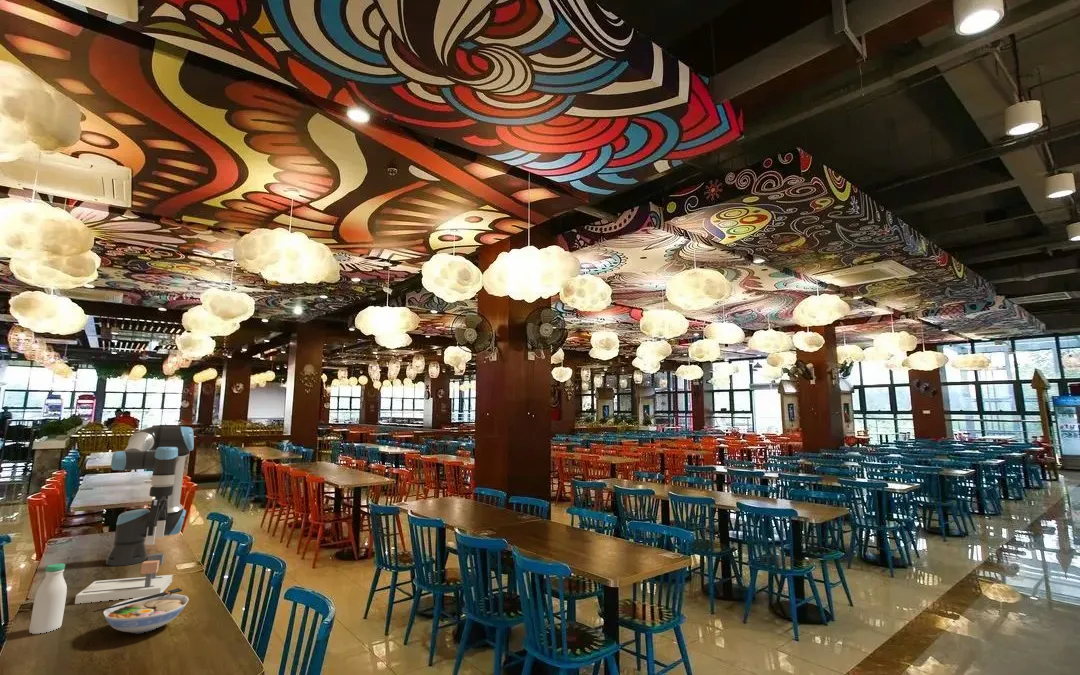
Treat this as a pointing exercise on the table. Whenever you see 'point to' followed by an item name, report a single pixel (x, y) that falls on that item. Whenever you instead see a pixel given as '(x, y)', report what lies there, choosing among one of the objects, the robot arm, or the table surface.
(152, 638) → the table surface
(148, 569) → the fader
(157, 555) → the fader
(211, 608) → the table surface
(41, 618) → the milk bottle
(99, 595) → the fader panel
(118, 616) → the ramen bowl
